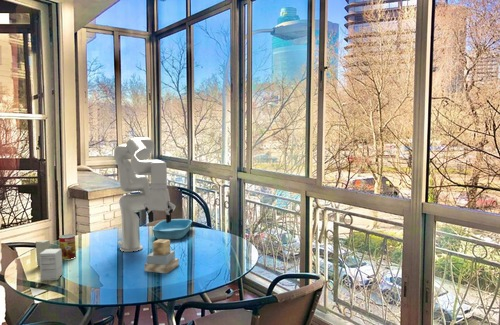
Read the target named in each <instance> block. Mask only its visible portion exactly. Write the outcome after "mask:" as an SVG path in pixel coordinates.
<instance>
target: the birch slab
mask: <svg viewBox="0 0 500 325" xmlns="http://www.w3.org/2000/svg"><path fill="white" fill-rule="evenodd" d="M179 261H180V260H179V258H177V257H175V259H174V260H172V261H171V262H170V263H169V264H167V265H158V264H147V262H146V263H144V272H152V273H157V274H158V273H160V274H168V273H170V272H171V271H173V270H174V269H176V268H177V267H179V265H180V264H179V263H180V262H179Z"/></svg>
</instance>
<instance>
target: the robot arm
mask: <svg viewBox="0 0 500 325" xmlns="http://www.w3.org/2000/svg"><path fill="white" fill-rule="evenodd" d="M154 149H155V143H154V141H153V140H152V139H151V138H150V137H131V138H129V139H128V140H127V141H126V143H125V144H119V145H117V146H116V147H115V148H114V153H113V154H114V160H115V162H116V165H117V167H118V175H119V184H120V189H121V191H122V192H124V193H131V194H125V195H122V196H121V197H120V198H119V208H120V213H121V234H122V235H121V236H122V237H121V238H122V240H118V241H117V246H120V247H119V251H120V250H121V251H120V252H123V251H124V252H123V253H131V252H132V253H134V252H137V251H138V250H139V251H141V250H143V248H144V246H143V245H142V244H141V238H140V218H139V217H140V216H138V214H137V213H136V211H142V210H145V211H146V213H147V215H148V217H147V218H148V222H153V221H154V212H153V211H155V212H156V211H157V212H165V213H166V215H165V220H166V223H169V222H171V219H172V214H173V213H174V212H175V209H176V207H177V206H176V205H175V204H174V203H173V202H171V197H170V191H169V188H168V179H167V176H168V174H167V170H168V169H167V166H168V165H167V162H165V161H164V160H160V159H149V158H150V156H151V154H152V153H153V151H154ZM148 176H150V180H149V178H148ZM133 192H139V193H133ZM133 251H134V252H133Z"/></svg>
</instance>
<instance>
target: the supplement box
mask: <svg viewBox="0 0 500 325" xmlns="http://www.w3.org/2000/svg"><path fill="white" fill-rule="evenodd" d="M39 256H40V267H39V269H40V271H39V272H40V273H39V274H40V281H41V282H42V281H45V282H46V281H57V280H59V279H60V278H61V277H62V276H63V275H64V270H63V260H62V250H61V249H59V248H50V249H45V250H44V251H43V252H41V253H40V254H39ZM62 274H63V275H62ZM61 275H62V276H61ZM60 276H61V277H60Z"/></svg>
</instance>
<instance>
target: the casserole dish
mask: <svg viewBox="0 0 500 325" xmlns="http://www.w3.org/2000/svg"><path fill="white" fill-rule="evenodd" d="M192 223H193V221H192V219H186V218H174V219H172V218H171V222H169V223H166V219H165V220H164V219H163V220H160V221H159V222H158V223H156V224H155V225H154V226H153V227H152V229H151V230H152V233H153V235H154V238H156V239H157V240H159V239H165V240H180V239H182V238H184V237H185V236H186V234H188V232H189V231H190V229H191V227H192Z"/></svg>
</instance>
